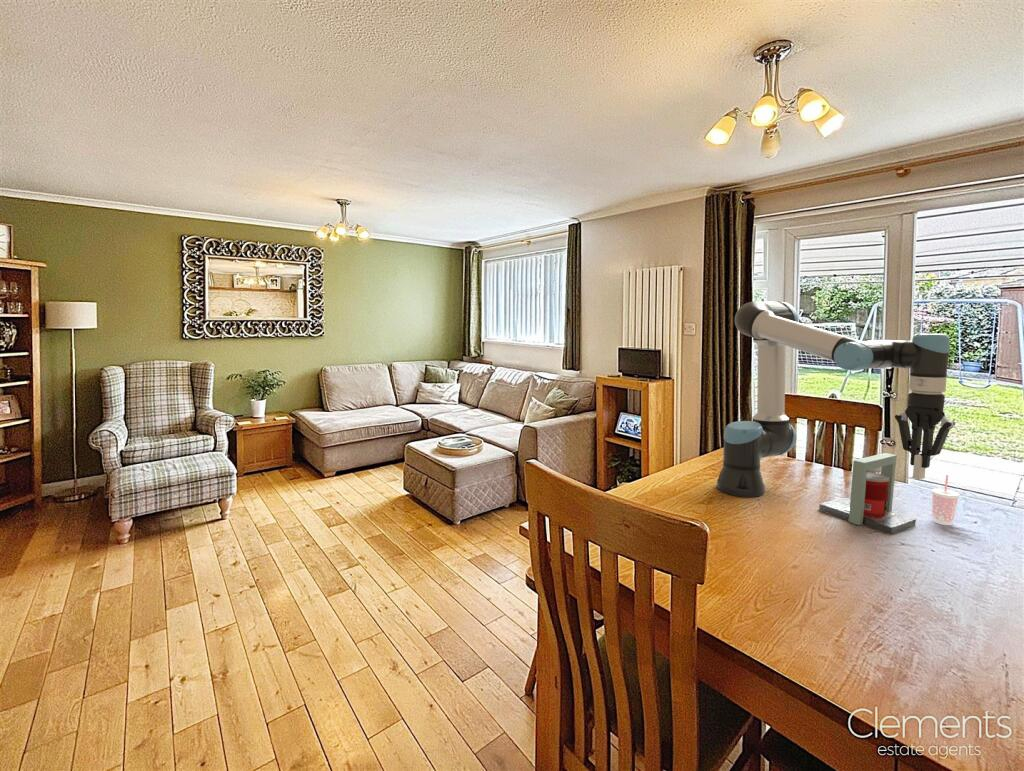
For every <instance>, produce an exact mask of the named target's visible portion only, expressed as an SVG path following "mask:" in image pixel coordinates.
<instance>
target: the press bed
mask: <svg viewBox="0 0 1024 771" xmlns="http://www.w3.org/2000/svg"><path fill="white" fill-rule="evenodd" d="M850 499H851V498H847V497H844V496H843V497H839V498H836V499H832V500H829V501H825V502H824V501H823V502H821V503H819V506H818V507H819V508H818V510H819V511H821V512H824V513H827V514H830V515H832V516H836V517H838V518H842V519H845V520H847V521H849V511H850ZM916 522H917V520H916V518H913V517H909V516H907V515H903V514H900V513H897V512H893V511H892V512H890V511H887V512H886V514H885V515H884V516H869V515H864V514H863V524H862V525H861V526H864V527H867V528H871V529H874V530H877V531H879V532H882V533H886V534H889V535H894V534H897V533H900V532H902V531H906V530H908V529H911V528H913V527H916Z"/></svg>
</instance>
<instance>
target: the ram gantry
mask: <svg viewBox="0 0 1024 771" xmlns="http://www.w3.org/2000/svg"><path fill="white" fill-rule="evenodd" d="M897 456H898V455H897V454H893V453H887V452H884V453H879V454H875V455H870V456H867V457H863V458H857V459H854V460H853V464H852V474H851V477H852V478H851V488H850V498H849V499H850V511H849V520H848V522H849V523H851V524H854V525H858V526H863V525H862V524H863V513H864V501H865V489H866V477H867V472H872V473H878V474H882V475H885V476H887V477H889V491H888V501H887V511H890V512H893V511H892V510H893V498H894V488H895V478H896V469H897V468H896V467H897V466H896V465H897Z"/></svg>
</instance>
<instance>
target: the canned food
mask: <svg viewBox="0 0 1024 771" xmlns="http://www.w3.org/2000/svg"><path fill="white" fill-rule="evenodd" d="M888 491H889V477H887V476H885V475H882V474H881V473H875V472H870V471H867V477H866V489H865V501H864V513H863V514H864V515H869V516H884V515H885V514H886V512H887V501H888Z"/></svg>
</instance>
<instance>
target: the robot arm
mask: <svg viewBox="0 0 1024 771" xmlns="http://www.w3.org/2000/svg"><path fill="white" fill-rule="evenodd" d="M734 315H735V316H734V325H735V327H736V329H737V330H738V331H739V333H740V334H742V335H745V336H747V337H751V338H752V339H753V340H752V341H753V342H754V343H755V344H756V345H757V390H756V391H757V392H756V393H757V398H756V399H757V400H756V401H757V402H756V403H757V408H756V409H757V410H756V411H757V412H756V414H755V415H753V416H752V420H743V421H742V420H739V421H733V422H730V423H728V424H727V425H726V426H725V428H724V434H723V456H722V458H723V460H722V461H723V462H722V468H721V470H720V472H719V476H718V478H717V480H716V489H717V488H718V489H719V490H718V489H717V490H718V491H721V493H724V494H727V495H732V496H735V497H744V498H754V497H760V496H763V495H764V494H765V488H766V486H765V483H764V479H763V477H762V476H763V475H762V473H761V460H762V459H763V458H768V457H776V456H781V455H784V454H786V453H788V452H790V451H791V450H792V449H794V447H795V446H796V444H797V443H796V442H797V438H798V437H797V431H796V429H795V428H794V427H793V425H792V424H791V423H790V417H788V415H787V414H786V413H785V407H786V406H785V405H786V404H785V403H786V396H785V395H786V348H787V347H790V348H791V349H795V350H799V351H802V352H804V353H806V354H807V353H808V354H809V355H813V356H816V357H818V358H822V359H825V360H827V361H831V362H834V363H835V364H836V365H837V366H838V367H839V368H840V369H843V370H845V371H861V370H868V369H881V368H899V369H909V381H908V390H910V391H909V392H908V394H907V402H906V404H907V406H906V409H905V411H904V412H901V413H899V414H895V415H894V419H895V420H896V422H897V423H898V428H899V434H900V438H901V439H900V440H901V444H902V449H903V450H904V451H906V452H908V453H910V465H911V466H912V467H913V471H912V479H913V480H918V481H919V480H920V481H921V480H922V479H925V476H926V469H928V468H930V466H931V465H930V464H931V457H932V456H937V455H940V454H941V453H942V449H943V447H944V444H945V442H946V441H947V440H946V439H947V438H948V434H949V433H950V431H951V429H952V428H953V427H954V426H955V425H956V422H955V421H953V420H950V419H948V418H947V417H946V414H945V411H944V407H945V399H946V395H945V394H944V393H945V392H946V389H947V387H946V386H947V376H948V375H947V373H948V368H949V366H948V365H949V358H950V352H951V350H950V341H951V340H950V336H949V335H948V334H946V333H915V334H914V335H913V336H912V339H911V340H898V339H897V340H893V339H882V338H881V339H869V340H865V341H863V340H859V339H856V338H851V337H848V336H845V335H842V334H838V333H836V332H831V331H828V330H825V329H821V328H818V327H815V326H811V325H808V324H805V323H801V322H799V314H798V312H797V310H796V308H795V307H794V306H793V305H791V304H790V303H788V302H785V301H779V300H778V301H777V300H773V301H771V300H770V301H768V300H766V301H758V300H757V301H750V302H746V303H744V304H743V305H742V306H740V307H739V308H738V310H737V311H736V313H735V314H734ZM908 420H909V421H910V423H911V430H910V425H909V421H908ZM938 424H940V428H939V429H938V431H937V434H936V437H935V439H934V435H935V434H934V432H935V430H936V426H937V425H938Z"/></svg>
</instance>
